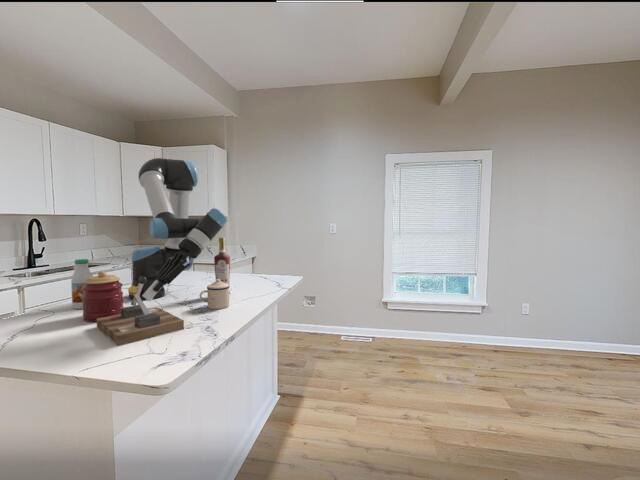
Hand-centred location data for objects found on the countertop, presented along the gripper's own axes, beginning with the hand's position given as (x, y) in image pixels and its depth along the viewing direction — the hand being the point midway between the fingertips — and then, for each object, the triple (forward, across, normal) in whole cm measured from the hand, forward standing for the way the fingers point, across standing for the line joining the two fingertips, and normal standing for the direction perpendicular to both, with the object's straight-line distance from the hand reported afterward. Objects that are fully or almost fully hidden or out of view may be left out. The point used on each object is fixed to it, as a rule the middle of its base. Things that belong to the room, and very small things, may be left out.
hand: (145, 298), depth 107 cm
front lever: (+4, 0, -4) cm, 6 cm away
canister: (+12, +30, -5) cm, 33 cm away
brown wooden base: (+8, +7, -8) cm, 14 cm away
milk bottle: (+13, +51, -3) cm, 53 cm away
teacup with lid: (-14, +12, -30) cm, 36 cm away
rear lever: (+4, +14, -4) cm, 15 cm away
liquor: (-22, +26, -39) cm, 52 cm away
